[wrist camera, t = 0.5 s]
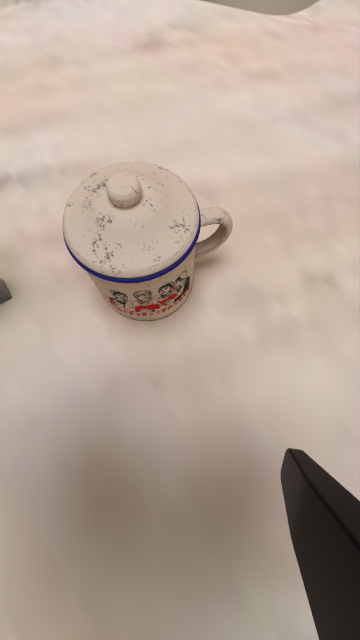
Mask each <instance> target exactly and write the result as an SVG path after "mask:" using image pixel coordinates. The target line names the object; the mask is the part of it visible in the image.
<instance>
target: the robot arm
mask: <svg viewBox="0 0 360 640" xmlns="http://www.w3.org/2000/svg"><path fill="white" fill-rule="evenodd" d="M281 483H282V489H283V495H284V501H285V506H286V512H287V518H288V524H289V529H290V534H291V539H292V543H293V547H294V550H295V554H296V558H297V561H298V565H299V569H300V572H301V576H302V579H303V583H304V587H305V590H306V594H307V597H308V601H309V605H310V608H311V612H312V615H313V619H314V623H315V626H316V630H317V633H318V637H319V640H360V501H359V500H358V499H357V498H356V497H354V496H353V495H352V494H351V493H350V492H349V491H348V490H347V489H345V488H344V487H343V486H342V485H341V484H340V483H339V482H338V481H336V480H335V479H334V478H333V477H332V476H331V475H330V474H328V473H327V472H326V471H325V470H324V469H323V468H322V467H321V466H319V465H318V464H317V463H316V462H315V461H314V460H313V459H312V458H310V457H309V456H308V455H307V454H306V453H305V452H304V451H302V450H299V449H292V448H288V449H287V450H286V452H285V456H284V460H283V464H282V468H281Z"/></svg>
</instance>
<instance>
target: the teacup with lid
mask: <svg viewBox="0 0 360 640" xmlns="http://www.w3.org/2000/svg"><path fill="white" fill-rule="evenodd" d="M211 224H220V226H219V227H218V229H217V230H216V231H215V232H214V233H213V234H212V235H211V236H210V237H209V238H207V239H205V240H203V241H201V242H198V243H196V242H197V239H198V236H199V233H200V227H203V226H206V225H211ZM232 227H233V222H232V219H231V216H230V215H229V213H228V212H227V211H226V210H224V209H221V208H215V207H214V208H206V209H201V210H199V206H198V203H197V201H196V199H195V197H194V194H193V193H192V191H191V190H190V188H189V187H188V186H187V184H186V183H185V182H184V181H183V180H182V179H181V178H180V177H178V176H177V175H176V174H174V173H173V172H171V171H169V170H167V169H165V168H163V167H160V166H158V165H154V164H150V163H144V162H125V163H118V164H114V165H110V166H108V167H105V168H102V169H100V170H98V171H96V172H94V173H93V174H91V175H90V176H88V177H87V178H86V179H84V180H83V181H82V182H81V183H80V184H79V185H78V186H77V187H76V189H75V190H74V191H73V193H72V194H71V196H70V197H69V199H68V202H67V204H66V207H65V210H64V214H63V235H64V240H65V243H66V246H67V249H68V250H69V252H70V254H71V256H72V257H73V258H74V260H75V261H76V262H77V263H78V264H79V265H80V266H81V267H82V268H83V269H85V270H86V271H87V272H88V274H89V275H90V277H91V278H92V280H93V281H94V283H95V284H96V286H97V287H98V289H99V290H100V292H101V293H102V295H103V296H104V298H105V299H106V301H107V302H108V303H109V305H110V306H111V307H112V308H113V309H114V310H116V311H117V312H118V313H120V314H122V315H124V316H126V317H128V318H131V319H135V320H155V319H159V318H162V317H165V316H167V315H169V314H171V313H172V312H174V311H175V310H177V309H178V308H179V307H180V306H181V305H182V304H183V303H184V302H185V300H186V299H187V297H188V295H189V293H190V291H191V288H192V284H193V275H194V260H195V258H197V257H200V256H203V255H206V254H208V253H210V252H212V251H214V250H216V249H217V248H218V247H220V246H221V245H222V244H223V243H224V242H225V241H226V240H227V238H228V237H229V235H230V233H231V231H232Z"/></svg>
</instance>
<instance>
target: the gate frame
mask: <svg viewBox="0 0 360 640" xmlns="http://www.w3.org/2000/svg"><path fill="white" fill-rule="evenodd" d="M11 298H12V296H11V294H10V292H9V290H8V288H7V286H6V284H5V282H4V281H3V280H2V279H0V304H1V303H3V302H5V301H7V300H9V299H11Z"/></svg>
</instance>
